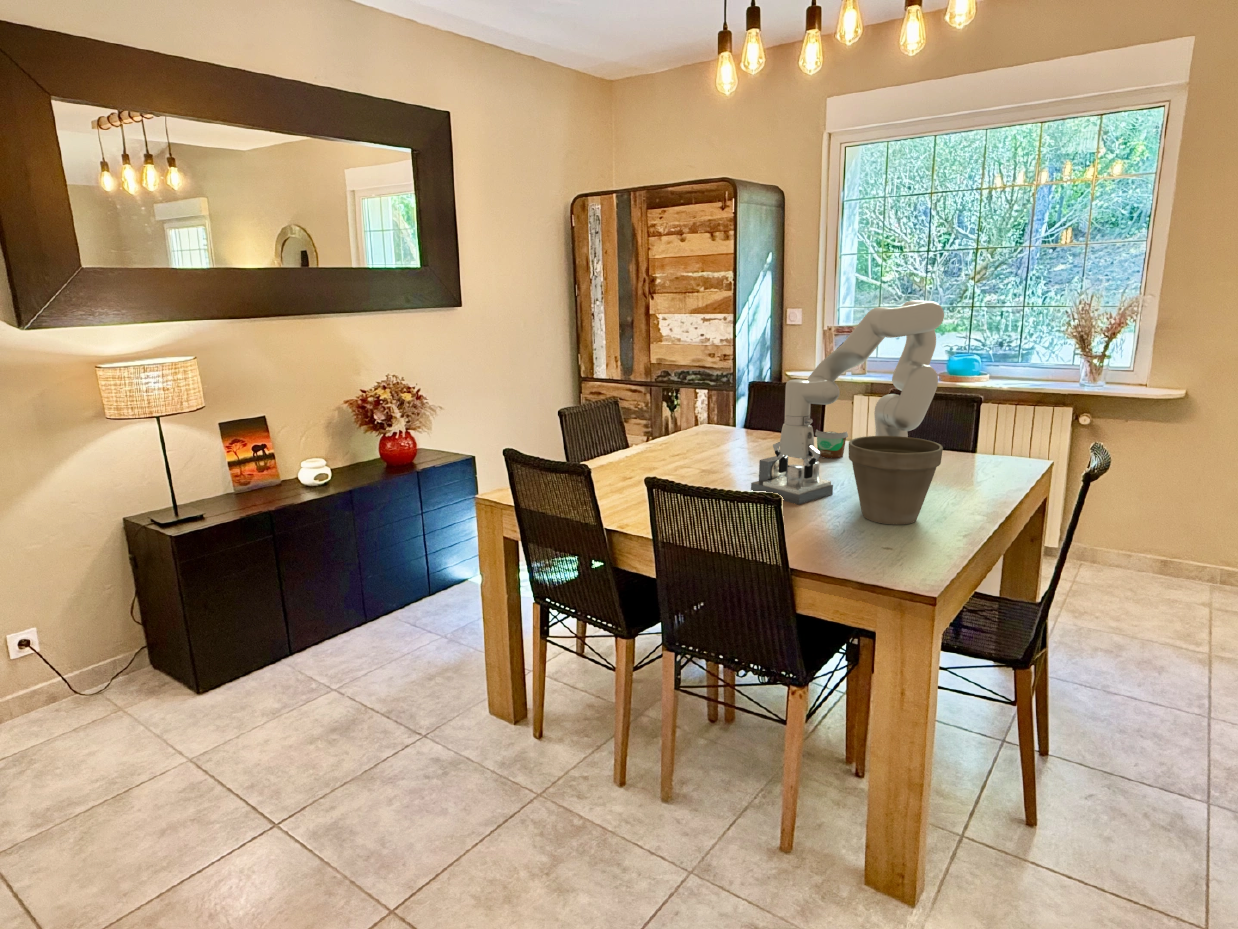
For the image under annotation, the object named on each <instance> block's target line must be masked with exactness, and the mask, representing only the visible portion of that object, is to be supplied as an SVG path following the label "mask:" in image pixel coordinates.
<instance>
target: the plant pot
mask: <svg viewBox="0 0 1238 929" xmlns="http://www.w3.org/2000/svg"><path fill="white" fill-rule="evenodd" d="M943 450H944V447H943V445H942V444H940V443H937V442H935V441H932V440H929V439H928V440H927V439H924V438H918V437H911V436H909V437H900V436H875V435H867V436H862V437H861V436H860V437H855V438H853V439H850V440H849V441H848V459H849V460H850V461H851V462H852V463H851V464H852V469H853V476H854V480H855V486H856V490H857V495H858V499H859V504H860V509H861V513H862V516H863V518H865V519H867V520H869V521H871V522H874V523H877V524H883V525H893V526H895V525H896V526H897V525H899V526H901V525H909V524H912V523H914V522H916V521H917V519H918V517H919V515H920V512H921V511H922V508H923V505H924V502H925V500H926V497H927V494H928V491H929V489H930V487H931V484H932V481H933V479H934V476H935V473H936V470H937V467H940V465H941V463H942V456H943Z"/></svg>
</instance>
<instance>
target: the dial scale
mask: <svg viewBox="0 0 1238 929" xmlns="http://www.w3.org/2000/svg"><path fill="white" fill-rule="evenodd" d="M785 459H787V466H788V465H789V456H787V457H786V458H785ZM758 470H759V471H758V480H756V481H753V482H750V491H751V490H753V491H766V492H773V493H778V494H779V495H781V496H782V497H783V499H784V501H783V502H786V503H787V502H788V503H790V504H794V503H795V504H794V505H797V506H800V505H803V504H806V503H809V502H811V501H815V500H818V499H821V498H825V497H829V496H831V495H833V494H834V493H833V492H834V484H832V481H830V480H828V479H822V478H819V482H816V483H808V482H804V481H803V486H802V487H789V486H787V471H786V472H782V473H779V460H778V459H777V456H776V455H775V456H771V457H767V458H761V459H759V465H758Z"/></svg>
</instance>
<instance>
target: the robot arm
mask: <svg viewBox="0 0 1238 929" xmlns="http://www.w3.org/2000/svg"><path fill="white" fill-rule="evenodd" d="M944 318H945V311H944V309H943V307H942V306H941V305H940V304H939V303H938V302H936V301H931V300H919V299H918V300H917V299H915V300H908V301H906V302H904V303H903V304H902V305H901V306H899V307H897V306H896V307H885V306H878V307H874V308H871V310H869V311H868V312H867V313H866V314H865V316H864V317H863V318H862V319H861V320H860V322H859V323H858V324H857V326H856V327H855V328H854V329H853V330H852V332H851V333H850V334H849V335H848V337H846V339H845V340H844V341H843V343H842V344H841V345H840V346H839V347H837V348H836V349H835V350H833V351H832V352H831V353H830V354H829V355H828V356H826V357H825V358H824V359H823V360H822V361H821V362H820V363H819V364H818V365H817V366H816V367H815V369H814V370H813V371H812V373H810V375H808V377H807V379H799V378H797V379H790V380H787V382H786V384H785V395H784V396H785V397H784V398H785V399H784V423H783V424H782V428H781V433H780V439H779V440H780V441H779V442H778V441H777V442H775V443H774V444H772V448H773V451H774V454H775V456H777V459H778V460H779V473H782V472H786V471H787V459H785V458H786V457H788V458H789V457H790V458H794V459H799V460H803V462H805V464H806V466H805V468H804V478H805V479H808V478H811V477H812V474H813V465H814V464H815V463H816V462H817V461H818V462H819V459H820V458H821V457H820V455H821V453H820V452H819V451H818V450H817V448H815V433H814V429H813V426H812V425H811V424H812V423H813V422H814V421H813V418H811V407H812V406H811V404H813V405H826V406H827V405H831V404H834V403H835V402H836V401H837V400H838V399H839V397H840V393H841V392H840V387H839V386H838V384H837V383H836V382H835V381H836V380H838V378H839V377H840V376H841V375H842V374H844V373H845V372H847V371H848V370H850V369H854V368H855V367H857V366H860V365H861V364H863V363H865V362H866V361H867V360H868V359H869V357H871V355H872V354H873V353H874V351H875V350H876V349H877V347H878V346H879V345H880V344H881V343H882V342H883V341H884V339H885V338H891V339H893V338H900V337H906V339H905V343H904V347H903V350H902V353H901V356H900V357H899V359H898V362H897V364H896V366H895V369H894V372H893V374H892V378H891V382H892V384H893V386H894V388H895V389H897V390H899V391H901V392H900V394H896V393H890V394H889V393H888V394H885V395H883V396H882V397H880V398H879V399H878V400H877V402H876V403H875V406H874V412H873V413H874V423H875V428H874V429H875V435H874V436H900V437H908V436H909V435H908V434H909V433H908V432H910V431H912V430H915V429H917V428H918V427H919V426H920V425H921V423H922V422H923V420H924V418H925V416H926V414H927V411H928V410H929V408H930V405H931V403H932V401H933V399H934V396H935V393H936V391H937V389H938V386H939V385H938V384H939V376H938V373H937V371H936V370H935V368H934V367H932V366H931V365H930V364H931V361H932V358H933V356H934V352H935V349H936V346H937V335H936V334H937V333H936V331H935V330H936V329H938V328H939V327H940V326H941V325H942V324H943V321H944V320H945V319H944Z"/></svg>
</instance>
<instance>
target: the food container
mask: <svg viewBox="0 0 1238 929" xmlns="http://www.w3.org/2000/svg"><path fill="white" fill-rule="evenodd" d="M848 434H849V433H848V431H843V432H836V431H821V430H818V429H816V430H815V432H814V437H816V445H817V446H816V449H817V450H818V451H819V452H820V453H821V455H820V457H819V458H823V459H830V460H837V459H842V458H843V457H844V452H845V447H846V440H847V438H848V437H849V435H848Z"/></svg>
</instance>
